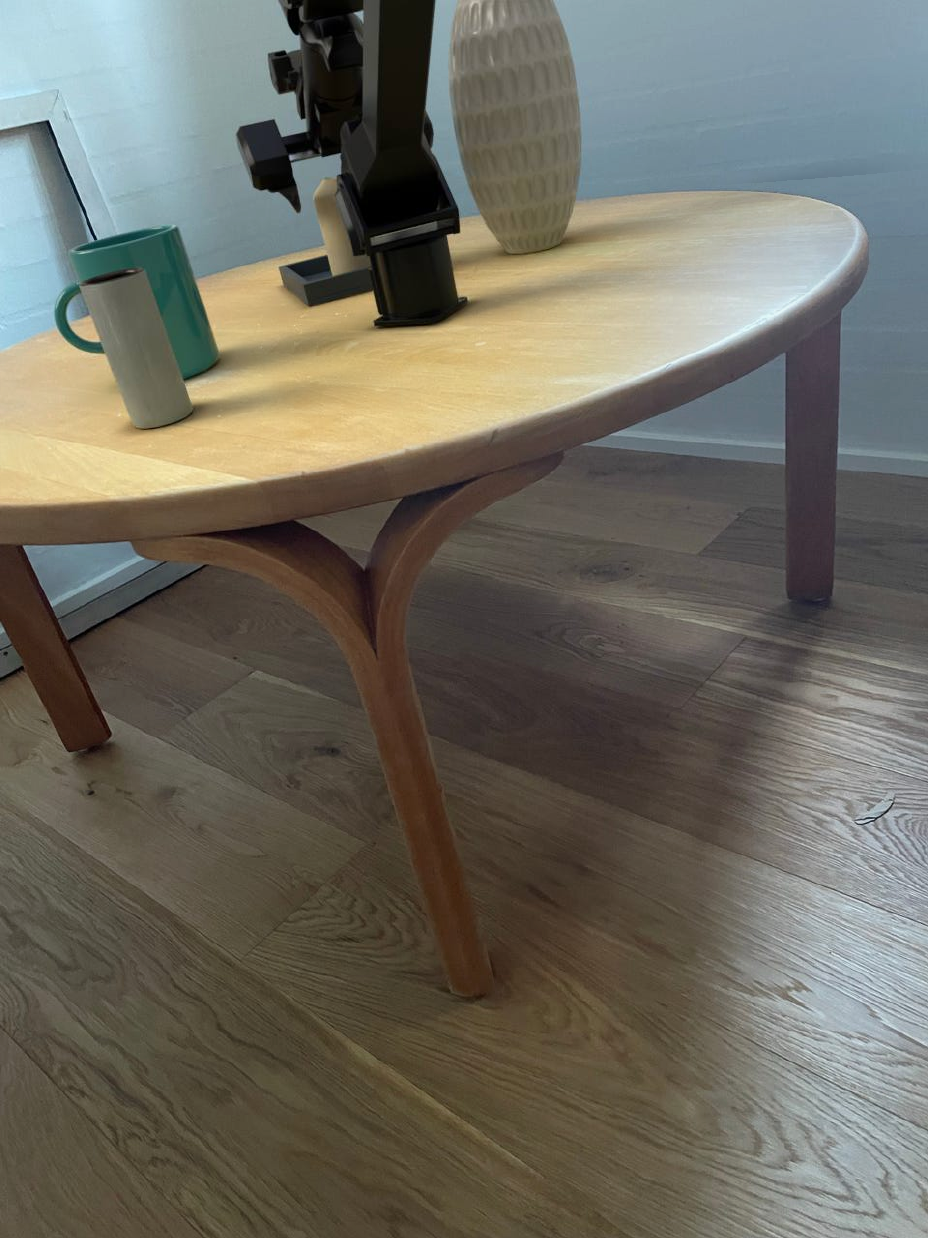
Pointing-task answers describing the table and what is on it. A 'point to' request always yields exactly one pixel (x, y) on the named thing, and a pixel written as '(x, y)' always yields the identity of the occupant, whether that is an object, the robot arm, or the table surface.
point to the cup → (169, 284)
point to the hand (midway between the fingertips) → (338, 199)
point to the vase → (516, 118)
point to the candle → (335, 231)
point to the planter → (137, 347)
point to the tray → (322, 281)
